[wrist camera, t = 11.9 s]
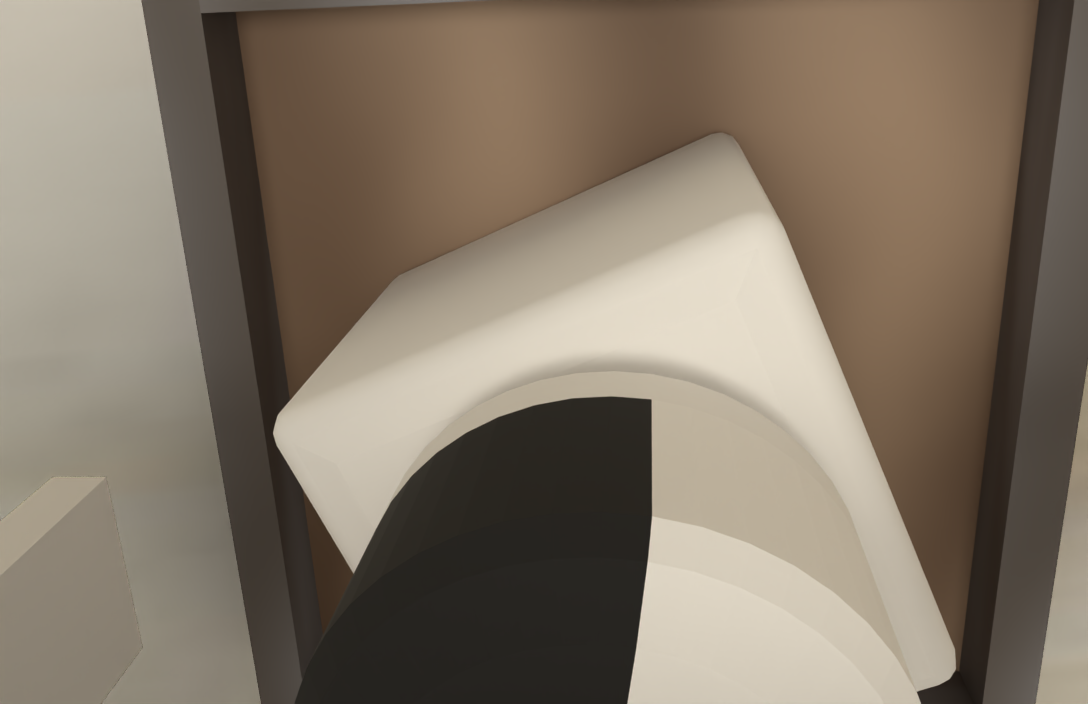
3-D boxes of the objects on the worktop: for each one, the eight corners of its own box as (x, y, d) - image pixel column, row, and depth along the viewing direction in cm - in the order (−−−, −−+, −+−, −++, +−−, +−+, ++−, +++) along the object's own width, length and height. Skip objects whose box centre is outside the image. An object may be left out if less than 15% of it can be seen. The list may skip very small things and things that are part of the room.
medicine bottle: (543, 568, 22) (429, 1196, 10) (387, 277, 20) (42, 666, 9) (865, 452, 20) (1138, 1053, 9) (729, 122, 18) (859, 353, 7)
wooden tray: (303, 661, 24) (266, 733, 22) (196, -45, 19) (133, -48, 17) (987, 680, 23) (1026, 760, 20) (1089, -90, 17) (1157, -101, 15)
